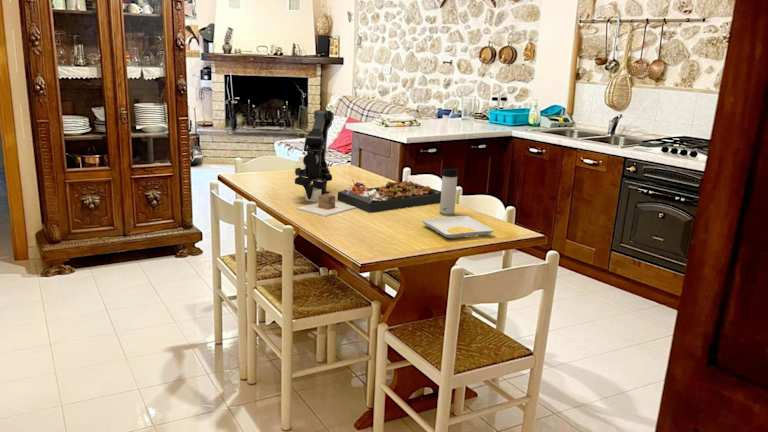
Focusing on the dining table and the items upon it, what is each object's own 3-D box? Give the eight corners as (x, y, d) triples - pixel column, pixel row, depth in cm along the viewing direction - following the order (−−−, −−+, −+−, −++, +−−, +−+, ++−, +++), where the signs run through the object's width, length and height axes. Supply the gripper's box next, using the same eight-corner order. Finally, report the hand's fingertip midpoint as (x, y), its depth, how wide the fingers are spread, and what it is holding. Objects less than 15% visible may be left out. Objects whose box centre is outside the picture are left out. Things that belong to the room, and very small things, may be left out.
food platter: (369, 214, 262) (370, 190, 260) (337, 201, 281) (338, 179, 278) (448, 203, 289) (449, 181, 286) (414, 192, 308) (415, 171, 305)
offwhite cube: (313, 198, 282) (313, 187, 280) (321, 200, 279) (321, 189, 278) (305, 200, 278) (305, 189, 276) (313, 202, 275) (313, 191, 274)
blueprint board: (327, 201, 277) (327, 199, 277) (356, 208, 268) (356, 206, 268) (296, 209, 262) (296, 207, 261) (325, 216, 253) (325, 215, 252)
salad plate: (445, 242, 228) (446, 233, 227) (419, 226, 247) (420, 218, 246) (494, 238, 237) (495, 229, 236) (465, 223, 255) (466, 215, 254)
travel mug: (445, 216, 262) (448, 170, 257) (436, 212, 268) (440, 167, 263) (457, 215, 265) (461, 169, 260) (449, 211, 271) (452, 166, 265)
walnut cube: (326, 205, 268) (326, 193, 267) (335, 207, 265) (335, 195, 264) (318, 207, 264) (318, 195, 263) (327, 209, 261) (327, 197, 260)
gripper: (314, 158, 286) (314, 191, 290) (285, 163, 271) (285, 198, 275) (333, 162, 280) (332, 195, 284) (304, 167, 265) (303, 202, 269)
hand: (313, 197), depth 278 cm, fingers closed on offwhite cube, 5 cm apart
